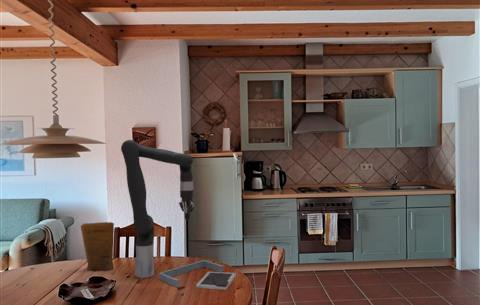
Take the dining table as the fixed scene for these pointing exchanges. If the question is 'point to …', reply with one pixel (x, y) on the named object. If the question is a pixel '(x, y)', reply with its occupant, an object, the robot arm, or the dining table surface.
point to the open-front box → (168, 278)
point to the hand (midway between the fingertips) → (187, 219)
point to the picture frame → (216, 280)
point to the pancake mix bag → (98, 245)
